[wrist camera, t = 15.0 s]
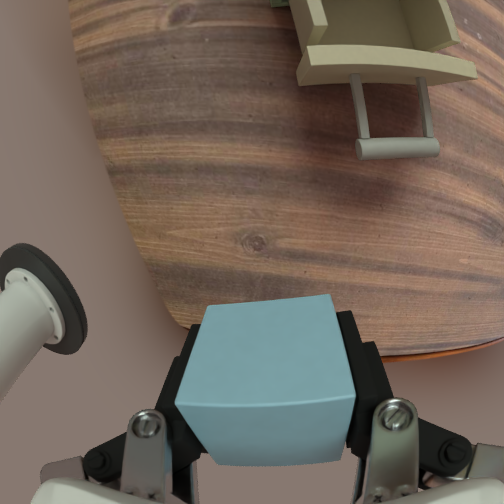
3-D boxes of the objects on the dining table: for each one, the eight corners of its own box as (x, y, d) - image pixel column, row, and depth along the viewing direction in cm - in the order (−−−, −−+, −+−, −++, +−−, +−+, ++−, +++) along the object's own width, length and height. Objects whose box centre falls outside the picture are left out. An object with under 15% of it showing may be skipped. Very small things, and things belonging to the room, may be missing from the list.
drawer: (436, 151, 18) (486, 163, 12) (310, 158, 20) (328, 170, 14) (389, -37, 11) (417, -69, 4) (265, -43, 12) (261, -87, 6)
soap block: (231, 381, 12) (217, 465, 8) (207, 304, 10) (172, 403, 6) (329, 373, 11) (340, 460, 7) (330, 292, 9) (356, 395, 5)
